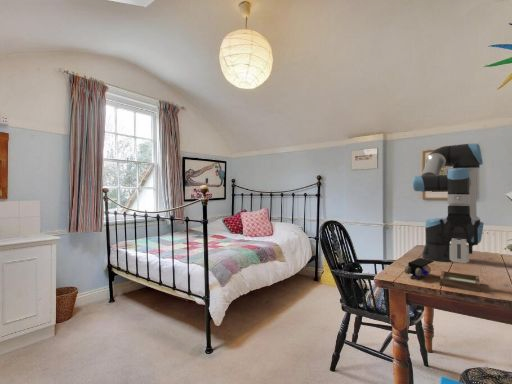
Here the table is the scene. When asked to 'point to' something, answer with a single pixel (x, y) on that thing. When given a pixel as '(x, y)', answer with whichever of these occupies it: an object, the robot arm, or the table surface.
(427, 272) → the figurine character
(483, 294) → the table surface
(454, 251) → the strip block
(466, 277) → the brown wooden square tray
